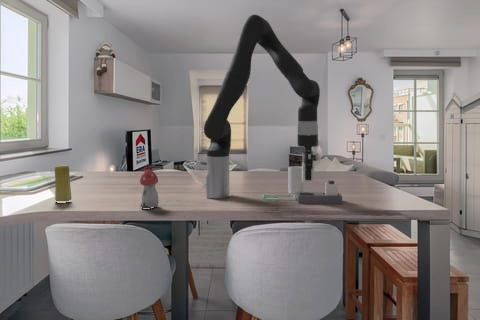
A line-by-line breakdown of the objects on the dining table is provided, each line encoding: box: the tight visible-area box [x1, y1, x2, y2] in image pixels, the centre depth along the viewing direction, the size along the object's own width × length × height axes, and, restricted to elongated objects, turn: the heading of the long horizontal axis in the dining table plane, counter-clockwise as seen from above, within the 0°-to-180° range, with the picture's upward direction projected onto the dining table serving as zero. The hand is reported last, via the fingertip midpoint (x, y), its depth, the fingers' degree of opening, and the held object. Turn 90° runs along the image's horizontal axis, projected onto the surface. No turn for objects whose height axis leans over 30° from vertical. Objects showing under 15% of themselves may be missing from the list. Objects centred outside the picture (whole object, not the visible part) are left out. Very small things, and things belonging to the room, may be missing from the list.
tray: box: [261, 194, 297, 203], centre depth 157 cm, size 13×9×2 cm
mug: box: [287, 165, 305, 195], centre depth 171 cm, size 10×7×12 cm, turn 167°
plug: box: [301, 162, 315, 183], centre depth 148 cm, size 4×4×8 cm
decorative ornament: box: [139, 166, 160, 208], centre depth 145 cm, size 9×6×15 cm
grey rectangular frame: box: [296, 192, 343, 205], centre depth 149 cm, size 16×7×4 cm, turn 86°
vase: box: [54, 165, 73, 201], centre depth 156 cm, size 6×6×14 cm
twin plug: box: [324, 180, 339, 196], centre depth 148 cm, size 4×4×8 cm
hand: (307, 179), depth 149 cm, fingers closed on plug, 4 cm apart
